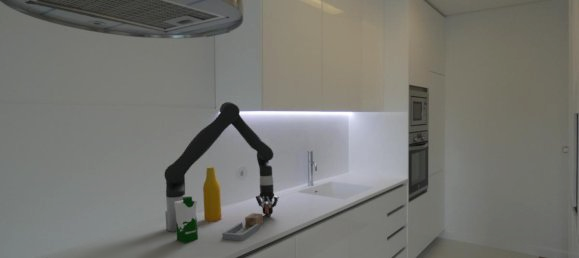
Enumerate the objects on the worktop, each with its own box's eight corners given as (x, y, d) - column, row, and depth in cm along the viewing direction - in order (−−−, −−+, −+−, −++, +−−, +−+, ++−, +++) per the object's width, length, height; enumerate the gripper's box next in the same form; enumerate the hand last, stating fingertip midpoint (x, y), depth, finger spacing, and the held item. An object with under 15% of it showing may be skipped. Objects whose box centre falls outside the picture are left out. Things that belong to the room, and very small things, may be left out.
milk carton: (183, 244, 159) (181, 200, 159) (173, 239, 166) (171, 197, 165) (200, 239, 166) (198, 196, 165) (191, 235, 172) (188, 193, 171)
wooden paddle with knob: (245, 227, 181) (244, 213, 180) (264, 215, 202) (263, 203, 202) (256, 228, 179) (255, 214, 178) (274, 215, 200) (273, 203, 200)
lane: (222, 238, 165) (222, 233, 165) (240, 227, 181) (240, 222, 181) (242, 240, 161) (242, 235, 161) (258, 228, 177) (258, 223, 177)
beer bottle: (212, 216, 203) (210, 165, 202) (225, 218, 198) (222, 166, 197) (200, 221, 195) (198, 168, 194) (213, 222, 190) (211, 168, 189)
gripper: (252, 184, 198) (253, 215, 198) (275, 185, 193) (276, 216, 193) (258, 181, 205) (259, 211, 205) (280, 182, 200) (282, 212, 200)
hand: (267, 213), depth 199 cm, fingers closed on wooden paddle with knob, 3 cm apart
